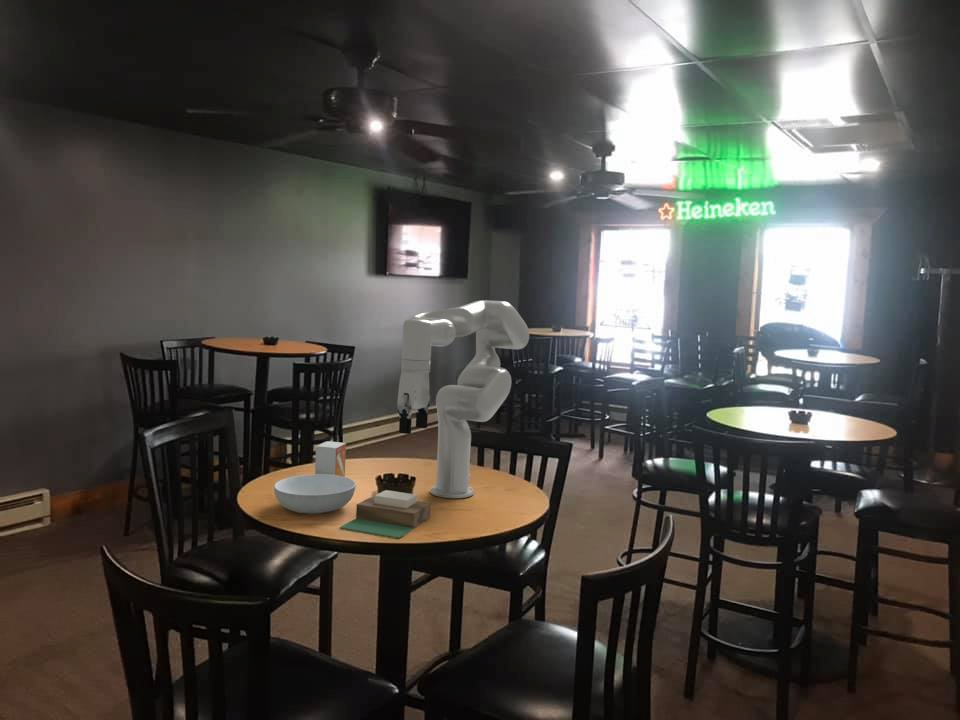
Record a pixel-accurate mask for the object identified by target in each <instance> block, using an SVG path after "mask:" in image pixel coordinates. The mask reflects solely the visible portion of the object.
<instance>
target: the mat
mask: <svg viewBox="0 0 960 720" xmlns="http://www.w3.org/2000/svg"><path fill="white" fill-rule="evenodd" d="M339 529H340V530H344V529H346V530H345V531H349V530H350V531H351V532H355V531H356V532H355V533H361V532H362V534H369V535H373V534H374V536H378V535H380V536H379V537H384V536H388V537H387V538H390V537H395V538H394V539H396V538H400V537H401V538H403V537H404V536H406V535H407V534H409V533H411V530H412V531H413V530H414V529H413V528H410V527H404V526H398V525H392V524H386V523H380V522H374V521H368V520H362V519H356V518H354V519H352V520H351V521H349V522H347V523H345V524H343V525H341V526H339ZM408 532H409V533H408ZM405 534H406V535H405ZM403 535H404V536H403ZM402 536H403V537H402ZM401 538H400V539H401Z"/></svg>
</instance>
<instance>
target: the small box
mask: <svg viewBox="0 0 960 720" xmlns="http://www.w3.org/2000/svg"><path fill="white" fill-rule="evenodd" d="M346 454H347V443H346V442H339V441H330V440H329V441H324V442H322V443H320V444H318V445H316V446H315V462H314V466H315V467H314V470H315V471H314V474H327V475H338V476H343V477H346V459H347V458H346V457H347V456H346Z"/></svg>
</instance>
